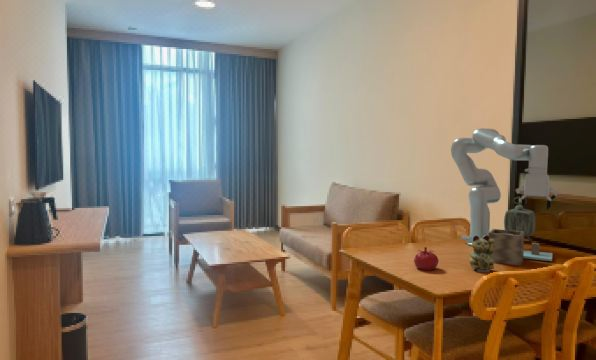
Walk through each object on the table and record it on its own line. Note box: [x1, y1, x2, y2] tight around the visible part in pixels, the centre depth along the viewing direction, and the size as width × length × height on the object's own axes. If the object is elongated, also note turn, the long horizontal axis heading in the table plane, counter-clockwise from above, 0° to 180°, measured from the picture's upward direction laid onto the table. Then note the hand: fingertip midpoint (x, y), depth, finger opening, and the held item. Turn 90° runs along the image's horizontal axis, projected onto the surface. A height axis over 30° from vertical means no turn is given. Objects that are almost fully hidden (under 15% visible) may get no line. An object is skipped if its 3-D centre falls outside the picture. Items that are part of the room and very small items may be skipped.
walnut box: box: [489, 228, 525, 266], centre depth 187 cm, size 13×13×13 cm
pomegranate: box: [413, 246, 440, 271], centre depth 174 cm, size 10×10×9 cm
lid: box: [523, 242, 553, 262], centre depth 193 cm, size 14×14×6 cm
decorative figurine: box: [468, 235, 495, 273], centre depth 172 cm, size 10×8×15 cm
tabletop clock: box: [503, 196, 537, 243], centre depth 230 cm, size 14×9×25 cm, turn 49°
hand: (535, 208), depth 192 cm, fingers open, 9 cm apart
